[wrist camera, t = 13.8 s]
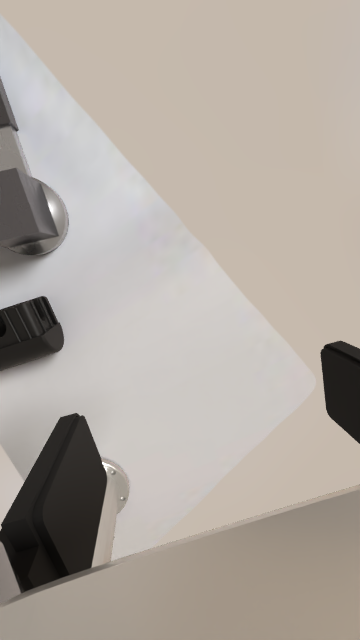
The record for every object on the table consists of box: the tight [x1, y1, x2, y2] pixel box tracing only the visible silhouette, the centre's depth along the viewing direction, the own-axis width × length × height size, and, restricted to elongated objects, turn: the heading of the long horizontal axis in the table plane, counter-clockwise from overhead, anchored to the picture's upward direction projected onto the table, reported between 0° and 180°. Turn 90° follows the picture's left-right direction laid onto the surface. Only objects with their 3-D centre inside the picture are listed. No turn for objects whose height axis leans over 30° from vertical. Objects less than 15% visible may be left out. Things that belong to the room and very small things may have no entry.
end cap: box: [0, 296, 64, 371], centre depth 33 cm, size 10×7×7 cm
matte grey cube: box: [0, 168, 59, 248], centre depth 28 cm, size 6×6×6 cm
